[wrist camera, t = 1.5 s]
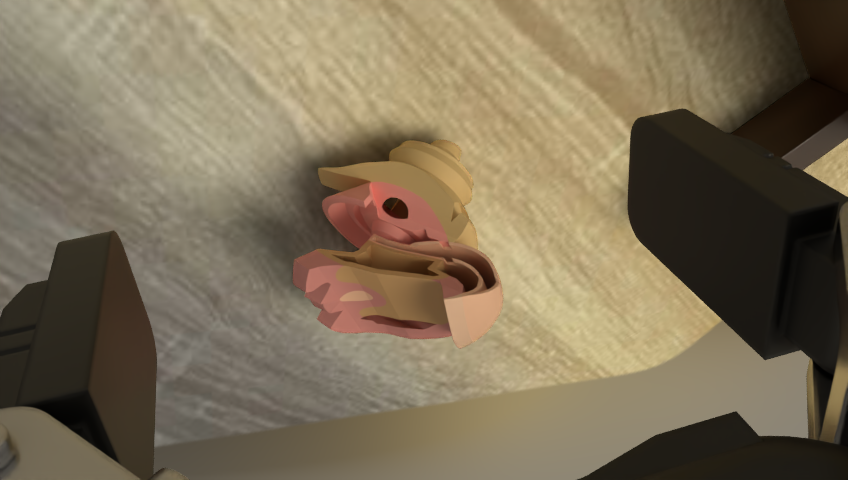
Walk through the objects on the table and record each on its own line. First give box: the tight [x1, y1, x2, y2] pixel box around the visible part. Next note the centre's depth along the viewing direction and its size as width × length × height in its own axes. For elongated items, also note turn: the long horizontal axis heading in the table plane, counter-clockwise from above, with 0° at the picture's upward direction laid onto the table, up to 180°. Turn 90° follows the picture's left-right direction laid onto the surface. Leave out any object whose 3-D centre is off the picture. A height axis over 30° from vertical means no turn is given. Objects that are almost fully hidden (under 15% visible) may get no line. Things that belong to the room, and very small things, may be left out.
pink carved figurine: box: [293, 140, 503, 349], centre depth 33 cm, size 9×10×10 cm
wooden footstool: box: [732, 0, 848, 170], centre depth 30 cm, size 20×12×12 cm, turn 33°
